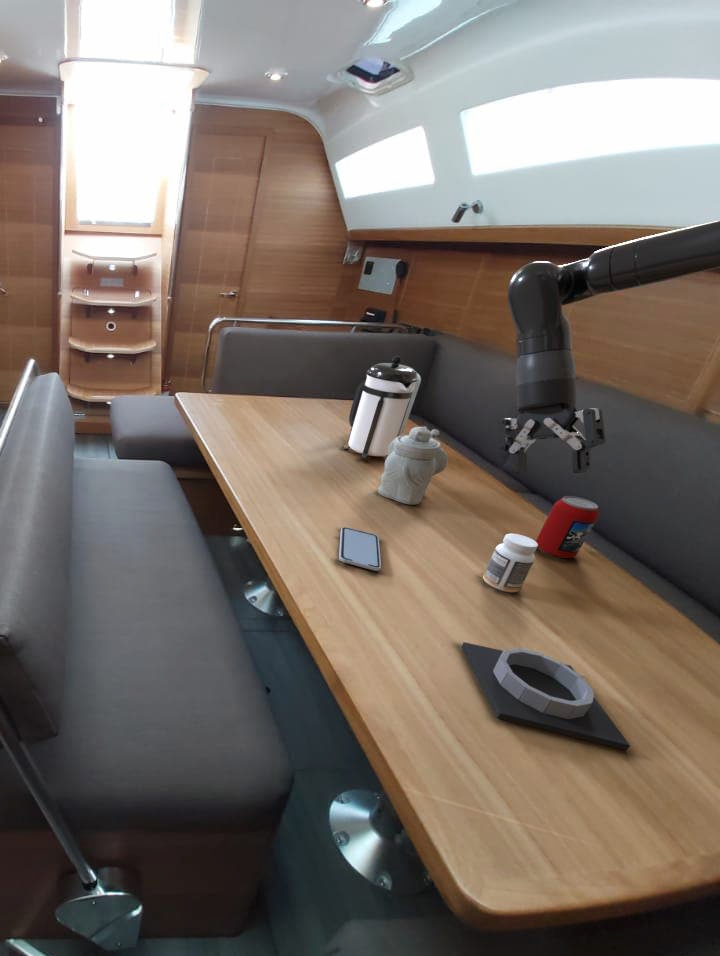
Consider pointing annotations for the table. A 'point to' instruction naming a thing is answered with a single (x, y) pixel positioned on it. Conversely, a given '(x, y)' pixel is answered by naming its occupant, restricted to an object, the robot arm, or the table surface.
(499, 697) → the dock
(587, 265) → the robot arm
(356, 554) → the smartphone
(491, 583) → the pill bottle
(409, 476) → the grey sculpted cookie jar
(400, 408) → the coffee press
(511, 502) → the table surface
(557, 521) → the beverage can
